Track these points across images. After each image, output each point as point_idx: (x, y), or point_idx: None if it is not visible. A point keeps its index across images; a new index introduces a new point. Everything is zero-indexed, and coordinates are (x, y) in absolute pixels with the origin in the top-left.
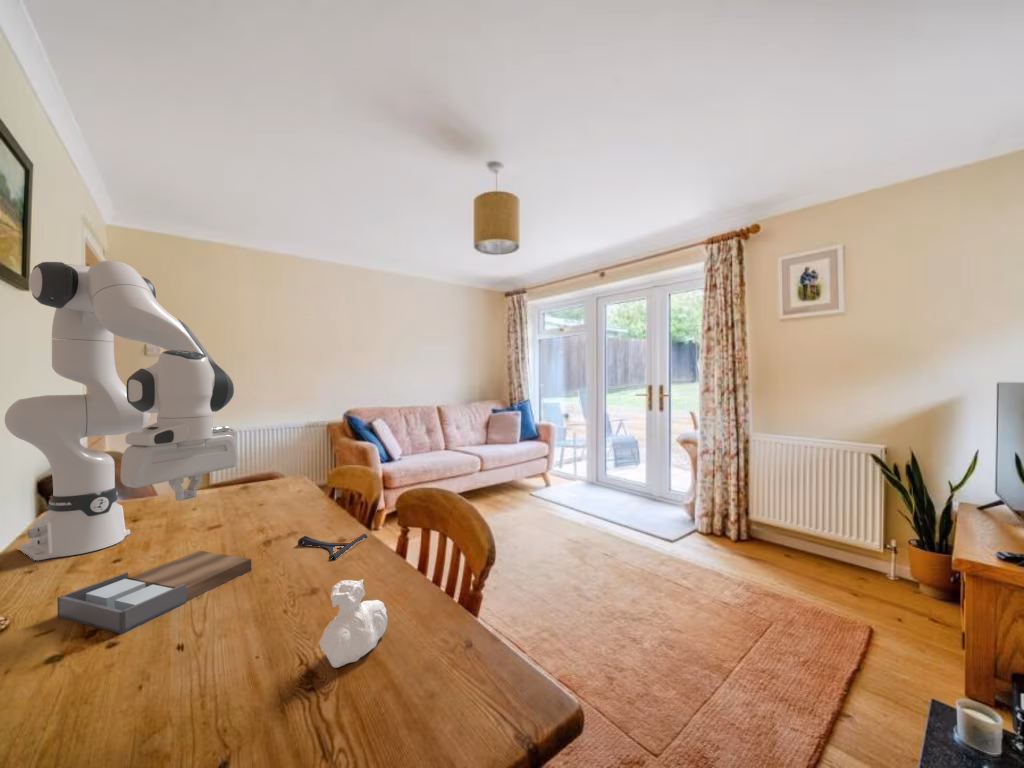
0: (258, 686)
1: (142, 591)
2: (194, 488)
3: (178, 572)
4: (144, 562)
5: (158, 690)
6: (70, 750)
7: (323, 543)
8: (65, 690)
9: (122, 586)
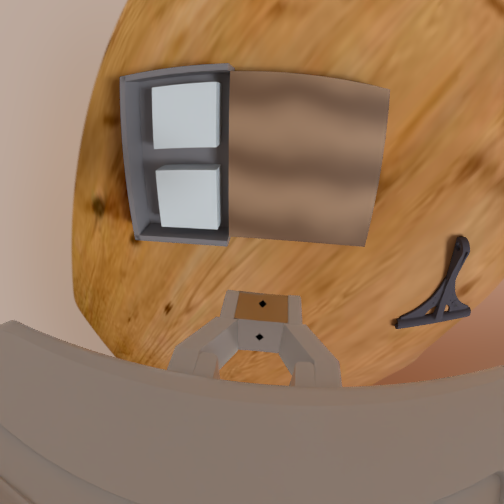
0: None
1: (190, 182)
2: (284, 356)
3: (280, 154)
4: None
5: (135, 332)
6: (94, 325)
7: (449, 283)
8: (96, 271)
9: (190, 120)
